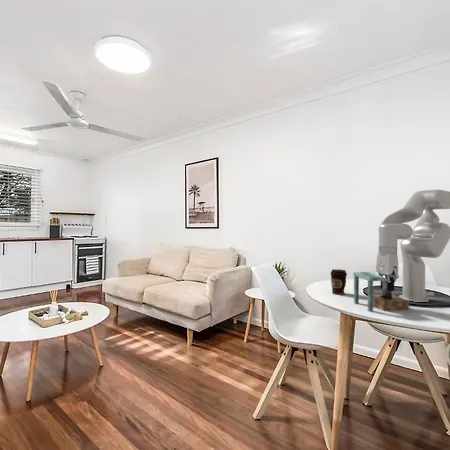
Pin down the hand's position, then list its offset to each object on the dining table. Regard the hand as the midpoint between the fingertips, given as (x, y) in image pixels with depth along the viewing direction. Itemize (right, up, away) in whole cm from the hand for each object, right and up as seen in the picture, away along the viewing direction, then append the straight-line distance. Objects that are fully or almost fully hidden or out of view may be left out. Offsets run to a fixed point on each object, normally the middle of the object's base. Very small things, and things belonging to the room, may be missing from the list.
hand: (387, 289), depth 134 cm
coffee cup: (-14, -8, +23) cm, 28 cm away
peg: (0, -4, 0) cm, 4 cm away
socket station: (-3, -8, 0) cm, 9 cm away
